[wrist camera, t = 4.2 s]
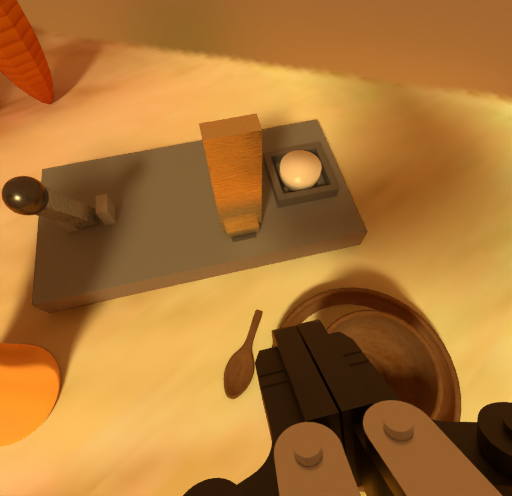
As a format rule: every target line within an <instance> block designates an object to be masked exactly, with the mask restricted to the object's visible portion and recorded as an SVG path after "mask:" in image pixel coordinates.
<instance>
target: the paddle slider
mask: <svg viewBox="0 0 512 496" xmlns="http://www.w3.org/2000/svg"><path fill="white" fill-rule="evenodd" d="M199 126H200V130H201V135H202V140H203V145H204V149H205V154H206V159H207V164H208V168H209V173H210V178H211V183H212V187H213V192H214V197H215V202H216V206H217V211H218V216H219V221H220V225H221V230H222V231H226V233H227V238H228V237H233V236H237V235H242V234H247V233H252V232H257V231H259V224H260V223H261V217H262V128H261V125H260V123H259V120H258V117H257V114H252V115H246V116H240V117H235V118H229V119H223V120H217V121H212V122H206V123H200V124H199Z"/></svg>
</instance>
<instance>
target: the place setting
mask: <svg viewBox="0 0 512 496" xmlns="http://www.w3.org/2000/svg"><path fill="white" fill-rule="evenodd" d="M341 304H355V305H363V306H367V307H371V308H374V309H376V310H379V311H376V310H361V311H355V312H352V313H349V314H346V315H344V316H342V317H341V318H339V319H337V320H336V321H335V322H334V323H332V324H331V325H330V326H329V327H328V329H327V330H326V331H327V332H328V334H331V333H335V332H339V331H340V332H341V333H343V334H345V335H347V336H348V337H350V338H352V339H353V340H354V341H355V342H356V344H357V345H358V346H359V348H360V349H361V350H362V353H364V354H365V355H366V357H367V358H368V359H369V362H370V363H372V365H373V366H374V367H375V368H376V370H377V371H378V372H379V374H380V375H381V376H382V378H383V379H384V380H385V381H386V383H387V384H388V385H389V387H390V388H391V389H392V391H393V392H394V393H395V394H396V396H397V397H398V398H399V400H400V401H402V402H405V403H408V404H411V405H413V406H415V407H417V408H419V409H420V410H421V411H423V412H424V413H425V414H426V415H427V416H428V417H429V418H430V419H433V420H435V419H436V420H438V421H448V422H460V416H461V393H460V387H459V381H458V377H457V373H456V370H455V367H454V364H453V362H452V359H451V357H450V355H449V353H448V351H447V349H446V347H445V345H444V344H443V342H442V341H441V339H440V338H439V336H438V335H437V333H436V332H435V331H434V330H433V329H432V327H431V326H430V325H429V324H428V323H427V322H426V321H425V320H424V319H423V318H422V317H421V316H420V315H419V314H418V313H416V312H415V311H414V310H412V309H411V308H410V307H408V306H407V305H405V304H404V303H402V302H400V301H399V300H397V299H395V298H393V297H391V296H388V295H386V294H383V293H380V292H377V291H373V290H369V289H362V288H340V289H333V290H329V291H326V292H322V293H320V294H318V295H315V296H313V297H311V298H310V299H308V300H306V301H305V302H303V303H302V304H301V305H300V306H298V307H297V308H296V309H295V310H294V311H293V312H292V313H291V314H290V315H289V316H288V317H287V319H286V320H285V322H284V323H283V325H282V326H281V328H285V327H289V326H293V325H295V326H296V325H297V324H301V323H302V322H303V321H304V320H305V319H306V318H308V317H309V316H310V315H312V314H314V313H315V312H317V311H319V310H322V309H324V308H327V307H330V306H334V305H341ZM262 313H263V312H262V311H260V310H256V311H255V314H254V317H253V320H252V323H251V327H250V330H249V333H248V336H247V339H246V341H245V343H244V345H243V347H242V348H241V349H240V350H239V351H238V352H237V353H236V354H235V355H234V356H233V357H232V358H231V359H230V361H229V362H228V364H227V366H226V368H225V372H224V388H225V393H226V395H227V397H228V398H231V399H235V398H237V397H238V396H240V395H241V394H242V393H243V392H244V391H245V390H246V388H247V387H248V386H249V384H250V382H251V380H252V377H253V372H254V361H253V356H252V344H253V340H254V337H255V334H256V331H257V328H258V325H259V322H260V320H261V317H262ZM273 347H274V343H273V346H272V348H273ZM358 490H359V491H363V492H365V491H364V488H363V486H360V487H358Z"/></svg>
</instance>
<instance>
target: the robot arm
mask: <svg viewBox="0 0 512 496" xmlns="http://www.w3.org/2000/svg"><path fill="white" fill-rule="evenodd" d="M272 338H273V343H274V347H273V348H269V349H265V350H260V351H259V353H258V356H257V359H256V362H255V366H256V370H257V375H258V380H259V385H260V390H261V395H262V400H263V404H264V409H265V413H266V418H267V422H268V426H269V430H270V435H271V439H272V447H271V451H270V454H269V456H268V458H267V460H266V461H265V463H264V464H263V465H262V467H261V468H260V469H259V470H258V471H256V472H255V473H254V474H253V475H251V476H250V477H248V478H247V479H245V480H244V481H242V482H241V483H239V484H238V485H236V484H235V483H233V482H231V481H229V480H227V479H223V478H212V479H207V480H204V481H202V482H200V483H198V484H196V485H194V486H193V487H192V488H191V489H189V490H188V491H187V492H186V493H185V494H184V495H183V496H361V495H360V493H359V490H358V487H360V486H363V488H364V491H365V493H366V495H367V496H512V403H508V402H497V403H492V404H489V405H486V406H485V407H483V408H482V409H481V410H480V412H479V414H478V422H448V421H438V420H433V419H430V418H429V417H428V416H427V415H426V414H425V413H424V412H423V411H421V410H420V409H419V408H417V407H415V406H413V405H411V404H408V403H405V402H402V401H400V400H399V398H398V397H397V396H396V394H395V393H394V392H393V391H392V389H391V388H390V387H389V385H388V384H387V383H386V381H385V380H384V379H383V378H382V376H381V375H380V374H379V372H378V371H377V370H376V368H375V367H374V366H373V365H372V363H370V362H369V359H368V358H367V357H366V355H365V354H364V353H362V350H361V349H360V348H359V346H358V345H357V344H356V342H355V341H354V340H353V339H352V338H350V337H348V336H347V335H345V334H343V333H341V332H340V331H339V332H335V333H331V334H328V332H327V331H326V329H325V328H324V326H323V325H322V323H321V322H320V320H314V321H310V322H305V323H301V324H297V325H296V326H295V325H293V326H289V327H285V328H280V329H276V330H272Z"/></svg>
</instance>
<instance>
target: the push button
mask: <svg viewBox="0 0 512 496" xmlns="http://www.w3.org/2000/svg"><path fill="white" fill-rule="evenodd" d="M321 169H322V165H321V162H320V160H319V158H318V157H317V156H316V155H314V154H313V153H311V152H308V151H304V150H295V151H292V152H289V153H287V154H286V155H285V156H284V157H283V158H282V160H281V162H280V173H279V178H280V181H281V183H282V184H283V185H284V186H285V187H286V188H287V189H289V190H291V191H295V192H296V191H301V190H306V189H311V188H314V187H315V186H316V185H317V183H318V181H319V177H320V173H321Z"/></svg>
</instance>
